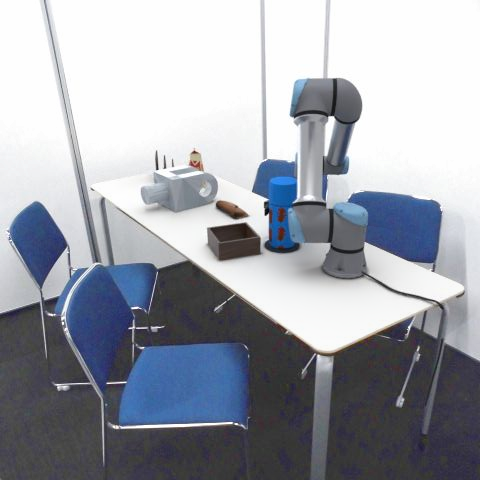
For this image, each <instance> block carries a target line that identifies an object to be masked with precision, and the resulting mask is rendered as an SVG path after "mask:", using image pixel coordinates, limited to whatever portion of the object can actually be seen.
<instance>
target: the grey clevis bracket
mask: <svg viewBox="0 0 480 480" xmlns="http://www.w3.org/2000/svg"><path fill="white" fill-rule="evenodd" d="M153 180H154V183H153V184H149V185H144V186H141V187H140V196H141V200H142V202H143V203H144V204H145V205H146V206H149V205H154V204H157V203H158V204H160V205H161V206H164V207H165V208H168V209H170V210H171V211H173V212H175V213H177V212H181V211H185V210H190V209H193V208H196V207H202V206H205V205H209V204H210V203H212V202H213V201H214V200H215V198H216V196H217V195H218V191H219V183H218V180H217V178H216V177H215V175H213V174H212V173H210V172H208V171H205V170H204V171H199V170H198V169H197V168H195V167H192V166H189V164H182V165H177V166H174V167H172V166H171V167H168V168H167V167H166V169H159V170H157V171H156V170H153ZM204 181H205V184H206V185H205V187H204V188H205V189H204V190H203V191H202V188H203V187H202V186H203V182H204ZM201 191H202V192H201ZM200 192H201V193H200Z"/></svg>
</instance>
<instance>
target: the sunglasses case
mask: <svg viewBox="0 0 480 480" xmlns="http://www.w3.org/2000/svg"><path fill="white" fill-rule="evenodd" d="M215 208H217V209H220V210H222V211H223V212H225V213H226V214H228V215H230V216H231V217H233V218H234V219H235V220H237V219H242V218H243V219H244V218H246V217H248V216H249V213H247V211H245V210H244V209H242V208H241V207H239V205H237V204H235V203H233V202H230V201H227V200H220V199H219V200H217V201H216V202H215Z"/></svg>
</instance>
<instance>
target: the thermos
mask: <svg viewBox="0 0 480 480" xmlns="http://www.w3.org/2000/svg"><path fill="white" fill-rule="evenodd" d="M296 198H297V179H296V178H294V176H276V177H275V176H274V177H272V178H271V179H269V185H268V200H269V214H268V240H269V244H270V246H272V247H274V248H278V249H287V248H291V247H293V246H294V245H295V242H293V241H292V240H291V237H290V231H289V223H288V209H290V208H292V203H293V202H294V201H295V200H296Z"/></svg>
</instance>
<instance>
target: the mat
mask: <svg viewBox="0 0 480 480" xmlns="http://www.w3.org/2000/svg"><path fill="white" fill-rule="evenodd" d="M263 244H264V248H265V249H266V250H268V251H269V252H272V253H277V254H289V253H293V252H296V251H299V249H300V246H301V243H296V242H295V245H294V246H293V247H291V248H287V249H278V248H274V247H272V246H270V244H269V239H268V240H266V241H264V243H263Z"/></svg>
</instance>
